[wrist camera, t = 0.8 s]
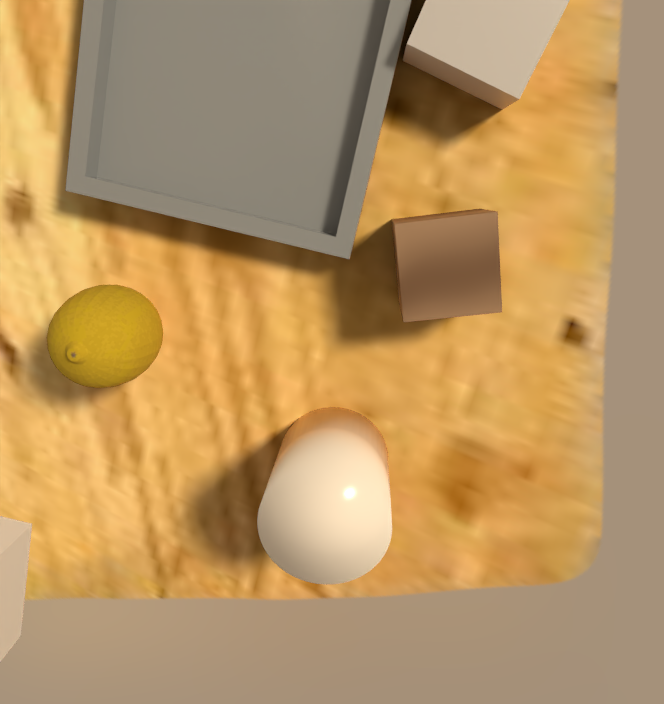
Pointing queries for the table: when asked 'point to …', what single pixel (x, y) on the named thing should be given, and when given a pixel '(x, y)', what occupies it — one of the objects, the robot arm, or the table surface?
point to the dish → (236, 111)
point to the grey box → (483, 44)
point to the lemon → (105, 336)
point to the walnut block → (447, 264)
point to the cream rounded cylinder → (328, 498)
